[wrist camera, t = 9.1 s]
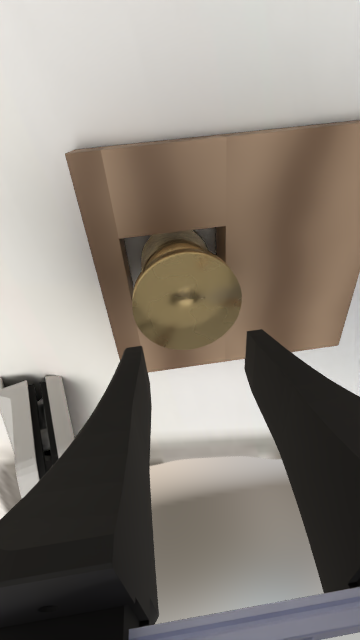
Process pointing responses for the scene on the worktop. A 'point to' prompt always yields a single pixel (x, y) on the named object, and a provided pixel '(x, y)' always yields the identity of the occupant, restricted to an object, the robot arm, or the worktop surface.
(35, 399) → the grey piece
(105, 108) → the worktop surface
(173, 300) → the bushing
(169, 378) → the worktop surface
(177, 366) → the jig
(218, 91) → the worktop surface
